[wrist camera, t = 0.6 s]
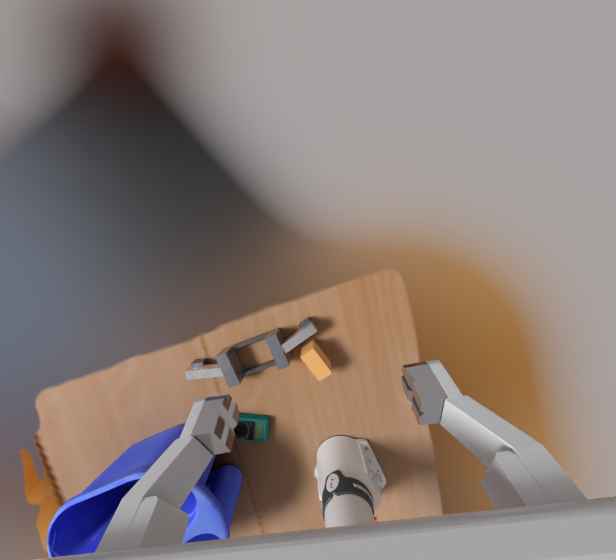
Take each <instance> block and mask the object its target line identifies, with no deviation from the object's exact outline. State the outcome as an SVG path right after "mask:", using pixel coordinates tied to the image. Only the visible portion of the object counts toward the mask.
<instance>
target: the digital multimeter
mask: <svg viewBox="0 0 616 560" xmlns="http://www.w3.org/2000/svg"><path fill="white" fill-rule="evenodd" d="M268 430H269V416H266V415H253V414H243V413H239V419H238V424H237V425H236V427H235V428H234V429H233V431H234V434H235V437H234V439H238V440H246V441H254V442H260V443H266V440H267V436H268Z"/></svg>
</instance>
